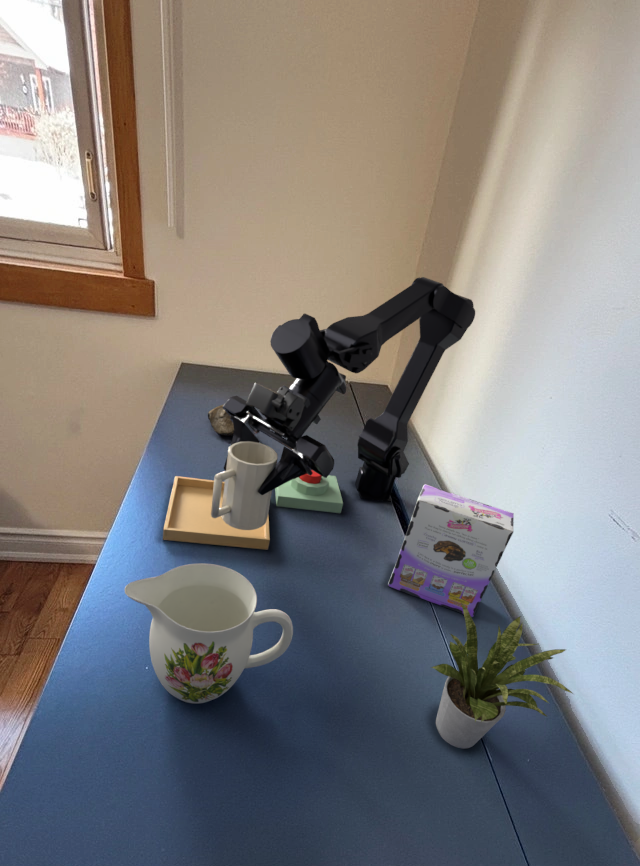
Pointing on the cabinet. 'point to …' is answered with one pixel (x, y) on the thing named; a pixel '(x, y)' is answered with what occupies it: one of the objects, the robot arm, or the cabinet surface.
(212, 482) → the stand tray
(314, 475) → the switch button
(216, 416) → the grey lumpy stone
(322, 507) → the switch base
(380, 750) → the cabinet surface
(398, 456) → the robot arm
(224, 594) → the pitcher
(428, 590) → the candy box
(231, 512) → the tall mug
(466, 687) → the house plant
